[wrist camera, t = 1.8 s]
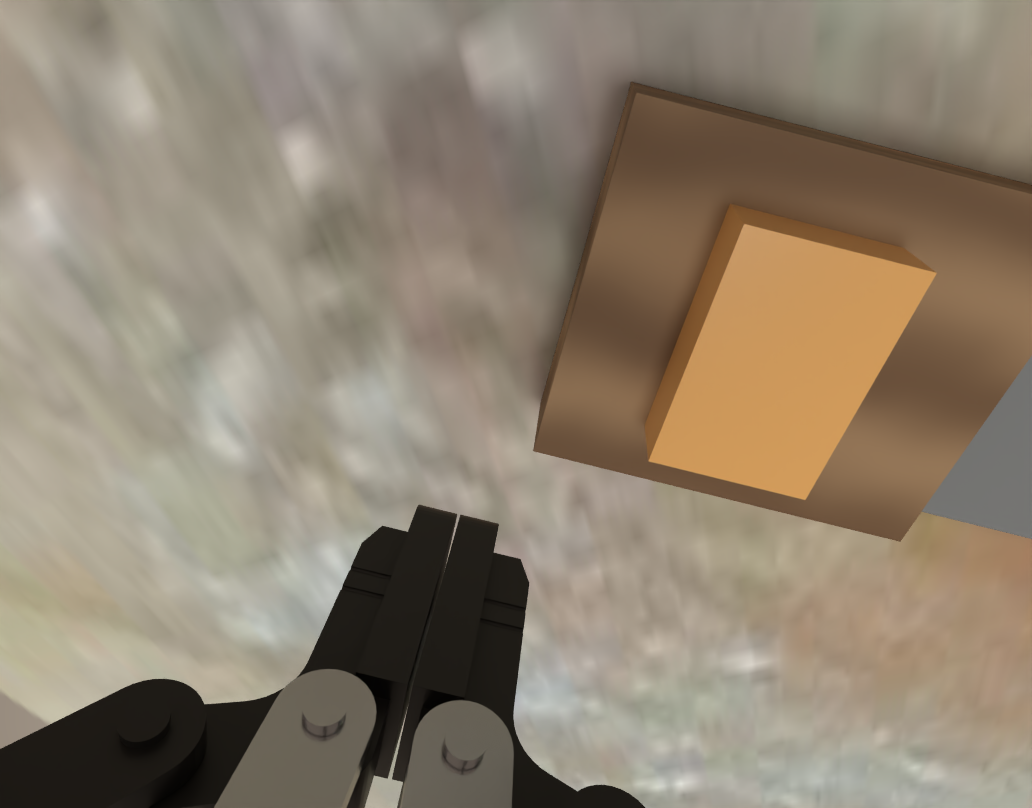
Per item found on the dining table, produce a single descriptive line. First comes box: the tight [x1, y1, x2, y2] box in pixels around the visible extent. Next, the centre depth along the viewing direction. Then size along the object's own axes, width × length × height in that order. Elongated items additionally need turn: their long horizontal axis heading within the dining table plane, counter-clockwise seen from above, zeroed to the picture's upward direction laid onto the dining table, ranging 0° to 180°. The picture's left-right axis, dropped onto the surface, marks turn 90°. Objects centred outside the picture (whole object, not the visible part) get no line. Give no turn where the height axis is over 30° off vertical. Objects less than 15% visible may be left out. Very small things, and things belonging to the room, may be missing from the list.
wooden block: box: [533, 82, 1032, 541], centre depth 26 cm, size 14×16×4 cm
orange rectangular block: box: [644, 204, 937, 500], centre depth 23 cm, size 9×6×2 cm, turn 168°
